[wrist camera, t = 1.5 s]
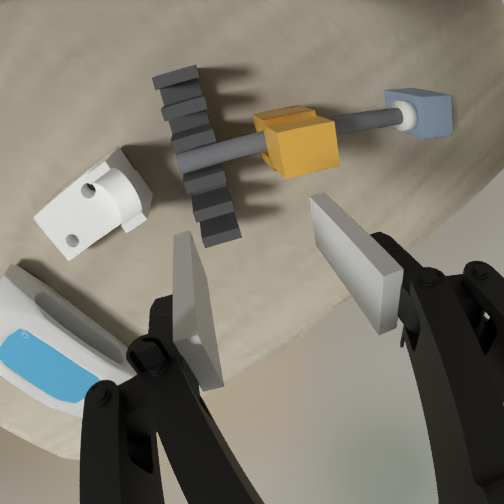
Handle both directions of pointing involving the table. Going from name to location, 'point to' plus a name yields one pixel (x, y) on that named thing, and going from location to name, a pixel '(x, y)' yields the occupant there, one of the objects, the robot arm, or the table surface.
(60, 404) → the document scanner
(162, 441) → the robot arm
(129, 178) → the bracket
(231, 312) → the table surface
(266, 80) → the table surface
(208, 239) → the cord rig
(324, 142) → the yellow notched block
